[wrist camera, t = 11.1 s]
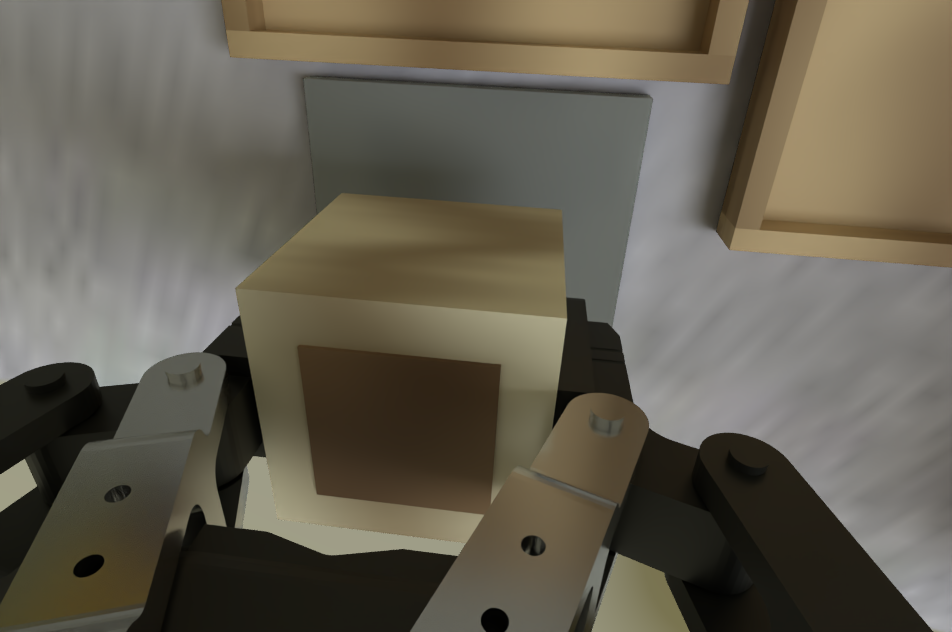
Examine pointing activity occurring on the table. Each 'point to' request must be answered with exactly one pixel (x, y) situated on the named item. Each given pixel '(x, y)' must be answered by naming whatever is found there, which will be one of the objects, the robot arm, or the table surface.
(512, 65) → the tray
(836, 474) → the table surface
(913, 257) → the tray
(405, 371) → the letter cube
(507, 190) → the slate tile
